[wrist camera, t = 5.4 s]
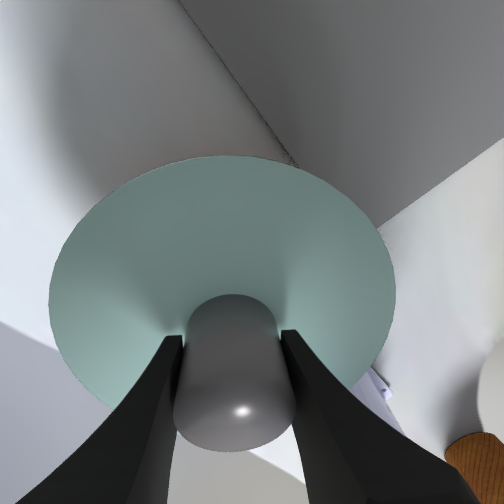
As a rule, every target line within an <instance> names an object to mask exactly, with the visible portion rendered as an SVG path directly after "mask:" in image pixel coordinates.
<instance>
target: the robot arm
mask: <svg viewBox="0 0 504 504" xmlns="http://www.w3.org/2000/svg"><path fill="white" fill-rule="evenodd" d="M280 341H281V345H282V349H283V353H284V357H285V361H286V365H287V369H288V373H289V376H290V380H291V384H292V388H293V392H294V396H295V400H296V413H295V416H294V419H293V421H292V423H291V424H292V427H293V431H294V434H295V438H296V441H297V445H298V449H299V453H300V457H301V462H302V467H303V472H304V477H305V482H306V487H307V493H308V498H309V504H481V503H480V501H479V500H478V498H477V497H476V495H475V494H474V492H473V491H472V489H471V488H470V486H469V485H468V483H467V482H466V481H465V479H464V478H463V477H462V475H461V474H460V473H459V471H458V470H457V469H456V468H455V467H453V466H451V465H450V464H448V463H446V462H445V461H443V460H441V459H440V458H438V457H437V456H435V455H433V454H432V453H430V452H428V451H427V450H425V449H423V448H422V447H420V446H419V445H417V444H416V443H414V442H413V441H412V440H410V439H409V438H407V437H406V436H405V434H404V432H403V431H402V429H401V427H400V425H399V424H398V422H397V420H396V418H395V417H394V415H393V413H392V412H391V410H390V408H389V406H388V405H387V403H386V400H388V399H389V398H391V397H392V396H393V392H392V391H391V389H390V388H389V387H388V386H387V385H386V384H385V383H384V381H383V380H382V379H381V378H380V377H379V376H378V375H377V374H376V373H375V371H374V370H373V369H372V368H371V367H370V368H369V369H368V370H367V371H366V373H365V374H364V375H363V376H362V377H361V379H360V380H359V381H358V382H357V383H356V384H355V385H354V386H353V387H352V388H350V389H349V390H348V389H347V388H346V387H345V386H344V385H343V384H342V383H341V382H340V381H339V380H338V379H337V378H336V377H335V376H334V375H333V374H332V373H331V372H330V371H329V369H328V368H327V367H326V366H325V365H324V364H323V363H322V361H321V360H320V359H319V358H318V357H317V356H316V354H315V353H314V352H313V351H312V349H311V348H310V347H309V346H308V344H307V343H306V342H305V340H304V339H303V338H302V336H301V335H300V334H299V332H298V331H297V330H296V329H291V330H281V338H280ZM182 353H183V339H182V335H168V336H166V337H165V338H164V339H163V341H162V343H161V345H160V346H159V348H158V350H157V351H156V353H155V355H154V356H153V358H152V359H151V361H150V363H149V364H148V366H147V367H146V368H145V370H144V371H143V373H142V374H141V376H140V377H139V379H138V380H137V381H136V383H135V384H134V385H133V387H132V388H131V389H130V391H129V392H128V393H127V395H126V396H125V397H124V399H123V400H122V401H121V402H120V403H119V405H118V406H117V407H116V408H115V409H114V411H113V412H112V413H111V414H110V415H109V416H108V418H107V419H106V420H105V421H104V422H103V423H102V424H101V425H100V426H99V428H98V429H97V430H96V431H95V432H94V433H93V434H92V435H91V436H90V437H89V438H88V439H87V440H86V441H85V442H84V443H83V444H82V445H81V446H80V447H79V448H78V449H77V450H76V451H75V452H74V453H73V454H72V455H71V456H70V457H69V458H67V459H66V460H65V461H64V462H63V463H62V464H61V465H60V466H59V467H58V468H56V469H55V470H54V471H53V472H52V473H51V474H50V475H49V476H48V477H47V478H45V479H44V480H43V481H42V482H41V483H40V484H38V485H37V486H36V487H35V488H34V489H32V490H31V491H30V492H29V493H28V494H26V495H25V496H24V497H23V498H21V499H20V500H19V501H18V502H17V503H15V504H167V497H168V488H169V477H170V469H171V463H172V456H173V450H174V446H175V440H176V435H177V428H176V426H175V424H174V420H173V410H174V403H175V397H176V391H177V385H178V378H179V372H180V366H181V360H182Z"/></svg>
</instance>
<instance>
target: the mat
mask: <svg viewBox="0 0 504 504" xmlns="http://www.w3.org/2000/svg"><path fill="white" fill-rule="evenodd" d="M179 2H180V3H181V4H182V6H183V7H184V9H185V10H186V11H187V13H188V14H189V16H190V17H191V18H192V20H193V21H194V22H195V24H196V25H197V27H198V28H199V29H200V31H201V32H202V34H203V35H204V36H205V38H206V39H207V41H208V42H209V43H210V45H211V46H212V48H213V49H214V50H215V52H216V53H217V55H218V56H219V57H220V59H221V60H222V62H223V63H224V64H225V66H226V67H227V69H228V70H229V71H230V73H231V74H232V76H233V77H234V78H235V80H236V81H237V82H238V84H239V85H240V87H241V88H242V89H243V91H244V92H245V94H246V95H247V96H248V98H249V99H250V101H251V102H252V103H253V105H254V106H255V108H256V109H257V110H258V112H259V113H260V115H261V116H262V117H263V119H264V120H265V122H266V123H267V124H268V126H269V127H270V129H271V130H272V131H273V133H274V134H275V136H276V137H277V138H278V140H279V141H280V142H281V144H282V145H283V147H284V148H285V149H286V151H287V152H288V154H289V155H290V156H291V158H292V159H293V161H294V162H295V163H296V165H297V166H298V168H299V169H302V170H304V171H306V172H308V173H310V174H312V175H314V176H316V177H318V178H320V179H322V180H324V181H326V182H327V183H328V184H330V185H331V186H333V187H334V188H335V189H337V190H338V191H340V192H341V193H342V194H344V195H345V196H347V197H348V198H349V199H350V200H351V201H352V202H354V203H355V204H356V205H357V206H358V207H359V208H360V209H361V210H362V211H363V212H364V213H365V214H366V216H367V217H368V218H369V220H370V221H371V222H372V224H373V225H374V226H375V228H376V229H377V228H378V227H379V226H381V225H382V224H384V223H385V222H386V221H388V220H389V219H391V218H392V217H393V216H395V215H396V214H398V213H399V212H400V211H402V210H403V209H404V208H406V207H407V206H409V205H410V204H411V203H413V202H414V201H416V200H417V199H418V198H420V197H421V196H423V195H424V194H425V193H427V192H428V191H430V190H431V189H432V188H434V187H435V186H437V185H438V184H439V183H441V182H442V181H443V180H445V179H446V178H448V177H449V176H450V175H452V174H453V173H455V172H456V171H457V170H459V169H460V168H462V167H463V166H464V165H466V164H467V163H469V162H470V161H471V160H473V159H474V158H476V157H477V156H478V155H480V154H481V153H482V152H484V151H485V150H487V149H488V148H489V147H491V146H492V145H494V144H495V143H496V142H498V141H499V140H501V139H502V138H503V137H504V0H179Z"/></svg>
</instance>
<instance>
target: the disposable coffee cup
mask: <svg viewBox="0 0 504 504" xmlns="http://www.w3.org/2000/svg"><path fill="white" fill-rule="evenodd" d="M445 460H446V462H447V463H448V464H450V465H451V466H453V467H455V468H456V469H457V470H458V471H459V473H460V474H461V475H462V477H463V478H464V479H465V481H466V482H467V483H468V485H469V486H470V488H471V489H472V491H473V492H474V494H475V495H476V497H477V498H478V500H479V501H480V503H481V504H504V444H503V443H502V442H501V441H500V440H499V439H498V438H497V437H496V436H495V435H493V434H491V433H485V432H482V433H475V434H471V435H468V436H466V437H463V438H461V439H459V440H458V441H456V442H455V443H454V444H452V445H451V446H450V447H449V449H448V450H447V451H446V453H445Z"/></svg>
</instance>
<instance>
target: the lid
mask: <svg viewBox="0 0 504 504" xmlns="http://www.w3.org/2000/svg"><path fill="white" fill-rule="evenodd" d="M395 299H396V284H395V277H394V270H393V266H392V263H391V259H390V256H389V253H388V250H387V248H386V246H385V244H384V242H383V240H382V238H381V236H380V234H379V232H378V231H377V229H376V228H375V226H374V225H373V224H372V222H371V221H370V220H369V218H368V217H367V216H366V214H365V213H364V212H363V211H362V210H361V209H360V208H359V207H358V206H357V205H356V204H355V203H354V202H352V201H351V200H350V199H349V198H348V197H347V196H345V195H344V194H342V193H341V192H340V191H338V190H337V189H335V188H334V187H333V186H331V185H330V184H328V183H327V182H326V181H324V180H322V179H320V178H318V177H316V176H314V175H312V174H310V173H308V172H306V171H304V170H302V169H299V168H296V167H294V166H291V165H288V164H285V163H282V162H279V161H274V160H269V159H264V158H258V157H253V156H237V155H216V156H205V157H195V158H191V159H186V160H182V161H178V162H173V163H169V164H166V165H164V166H161V167H159V168H156V169H153V170H151V171H148V172H145V173H143V174H141V175H140V176H138V177H136V178H134V179H132V180H130V181H129V182H127V183H125V184H123V185H121V186H120V187H119V188H117V189H116V190H115V191H113V192H112V193H111V194H110V195H108V196H107V197H106V198H104V199H103V200H102V201H100V202H99V203H98V204H97V205H95V206H94V207H93V208H92V209H91V210H90V211H89V212H88V213H87V215H86V216H85V217H84V218H83V219H82V220H81V221H80V222H79V223H78V224H77V225H76V227H75V228H74V230H73V231H72V233H71V234H70V236H69V237H68V239H67V240H66V242H65V243H64V245H63V247H62V250H61V252H60V254H59V256H58V259H57V261H56V263H55V266H54V270H53V274H52V278H51V282H50V288H49V304H48V306H49V315H50V324H51V328H52V332H53V335H54V338H55V342H56V345H57V347H58V349H59V351H60V353H61V355H62V357H63V359H64V361H65V363H66V364H67V366H68V367H69V368H70V370H71V371H72V373H73V374H74V376H75V377H76V378H77V379H78V380H79V381H80V383H81V384H82V385H83V386H84V387H85V388H86V389H87V390H88V391H89V392H90V393H91V394H93V395H94V396H95V397H96V398H97V399H98V400H99V401H101V402H102V403H104V404H105V405H107V406H108V407H110V408H111V409H112V410H114V409H115V408H116V407H117V406H118V405H119V403H120V402H121V401H122V400H123V399H124V397H125V396H126V395H127V393H128V392H129V391H130V389H131V388H132V387H133V385H134V384H135V383H136V381H137V380H138V379H139V377H140V376H141V374H142V373H143V371H144V370H145V368H146V367H147V366H148V364H149V363H150V361H151V359H152V358H153V356H154V355H155V353H156V351H157V350H158V348H159V346H160V345H161V343H162V341H163V339H164V338H165V337H166V336H168V335H182V339H183V353H182V360H181V366H180V372H179V378H178V385H177V391H176V397H175V403H174V410H173V420H174V424H175V426H176V428H177V434H178V435H182V436H183V437H184V438H185V439H186V440H188V441H189V442H190V443H192V444H194V445H196V446H199V447H201V448H204V449H207V450H212V451H218V452H238V451H245V450H250V449H254V448H257V447H260V446H263V445H265V444H267V443H269V442H271V441H273V440H274V439H276V438H277V437H279V436H280V435H281V434H282V433H283V432H284V431H285V430H286V429H287V428H288V427H289V426H290V425H291V423H292V421H293V419H294V416H295V413H296V400H295V396H294V392H293V388H292V384H291V380H290V376H289V373H288V369H287V365H286V361H285V357H284V353H283V349H282V345H281V341H280V338H281V330H291V329H296V330H297V331H298V332H299V334H300V335H301V336H302V338H303V339H304V340H305V342H306V343H307V344H308V346H309V347H310V348H311V349H312V351H313V352H314V353H315V354H316V356H317V357H318V358H319V359H320V360H321V361H322V363H323V364H324V365H325V366H326V367H327V368H328V369H329V371H330V372H331V373H332V374H333V375H334V376H335V377H336V378H337V379H338V380H339V381H340V382H341V383H342V384H343V385H344V386H345V387H346V388H347V389H348V390H349V389H350V388H352V387H353V386H354V385H355V384H356V383H357V382H358V381H359V380H360V379H361V377H362V376H363V375H364V374H365V373H366V371H367V370H368V369H369V368H370V367H371V365H372V364H373V362H374V360H375V359H376V357H377V356H378V354H379V353H380V351H381V349H382V347H383V345H384V343H385V341H386V339H387V336H388V333H389V330H390V327H391V324H392V321H393V315H394V309H395Z"/></svg>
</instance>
